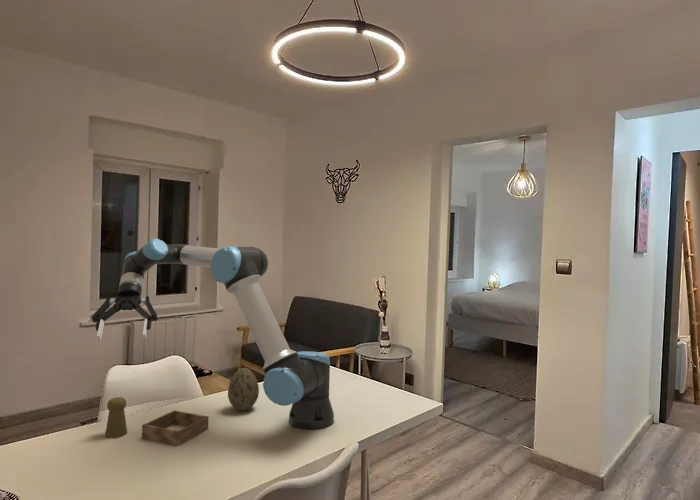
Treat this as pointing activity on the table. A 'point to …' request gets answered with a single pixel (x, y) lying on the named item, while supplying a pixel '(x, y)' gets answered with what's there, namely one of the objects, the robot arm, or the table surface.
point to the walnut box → (160, 433)
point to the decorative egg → (243, 389)
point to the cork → (116, 418)
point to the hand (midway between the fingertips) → (121, 337)
